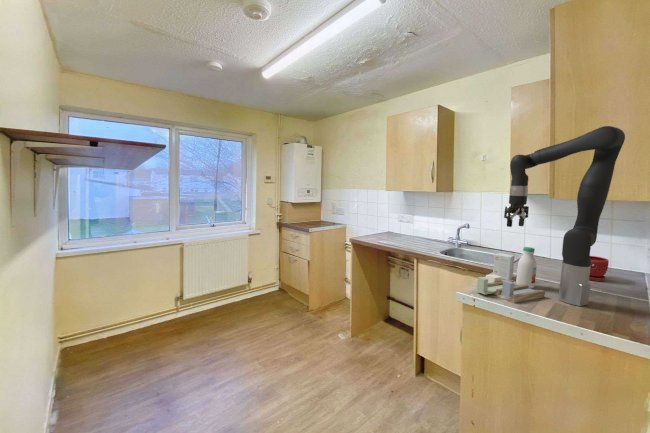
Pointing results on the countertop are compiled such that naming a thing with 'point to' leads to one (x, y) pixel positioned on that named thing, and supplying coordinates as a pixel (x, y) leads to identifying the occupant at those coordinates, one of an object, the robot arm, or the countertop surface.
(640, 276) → the countertop surface
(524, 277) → the milk bottle
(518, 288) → the lane board
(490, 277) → the block
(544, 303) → the countertop surface
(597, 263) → the plant pot
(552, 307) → the countertop surface
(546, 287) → the countertop surface
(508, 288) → the slat grey
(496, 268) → the small box
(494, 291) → the pale green bracket
